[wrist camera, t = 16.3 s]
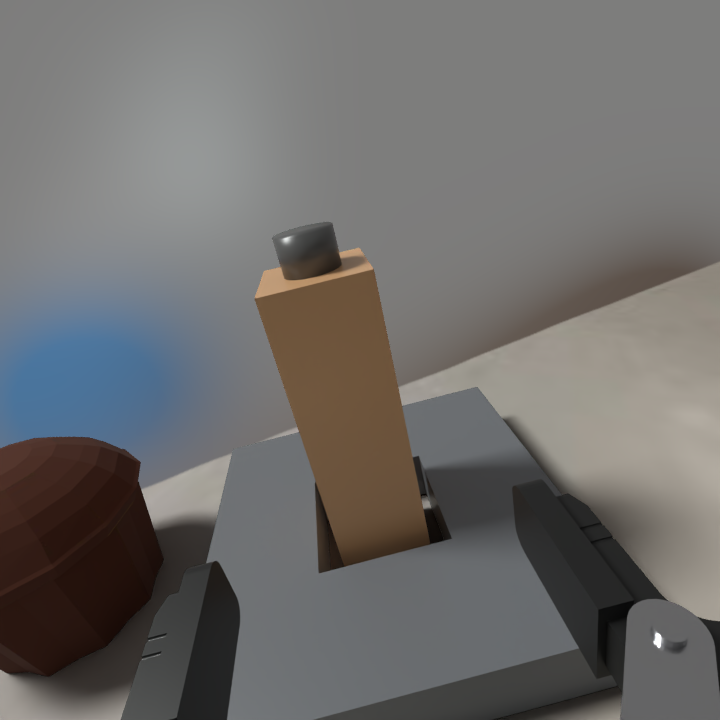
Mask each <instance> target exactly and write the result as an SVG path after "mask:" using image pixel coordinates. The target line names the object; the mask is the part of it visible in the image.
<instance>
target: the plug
mask: <svg viewBox="0 0 720 720" xmlns="http://www.w3.org/2000/svg"><path fill="white" fill-rule="evenodd" d="M272 239H273V243H274V246H275V249H276V252H277V256H278V259H279V263H280V266H281V267H279V268H275V269H271V270H267V271H264V273H263V276H262V279H261V282H260V284H259V288H258V290H257V293H256V296H255V301H256V304H257V307H258V310H259V313H260V316H261V319H262V322H263V325H264V328H265V331H266V334H267V337H268V340H269V343H270V346H271V349H272V352H273V355H274V358H275V361H276V364H277V367H278V370H279V373H280V376H281V379H282V382H283V385H284V388H285V391H286V394H287V397H288V400H289V403H290V406H291V409H292V412H293V415H294V418H295V421H296V424H297V427H298V430H299V433H300V436H301V439H302V442H303V445H304V448H305V451H306V454H307V457H308V460H309V463H310V466H311V469H312V472H313V475H314V478H315V481H316V484H317V487H318V490H319V493H320V496H321V499H322V502H323V505H324V508H325V511H326V514H327V517H328V520H329V522H330V525H331V528H332V531H333V534H334V537H335V540H336V543H337V546H338V549H339V552H340V555H341V558H342V561H343V564H344V567H346V566H350V565H353V564H357V563H361V562H365V561H369V560H372V559H376V558H380V557H384V556H388V555H392V554H395V553H399V552H403V551H407V550H411V549H414V548H418V547H422V546H426V545H430V539H429V535H428V530H427V525H426V520H425V515H424V510H423V505H422V501H421V496H420V491H419V486H418V481H417V476H416V472H415V467H414V462H413V457H412V452H411V447H410V442H409V438H408V433H407V428H406V423H405V418H404V413H403V409H402V404H401V399H400V394H399V389H398V384H397V380H396V375H395V370H394V365H393V360H392V355H391V350H390V346H389V341H388V336H387V331H386V326H385V321H384V317H383V312H382V307H381V302H380V297H379V292H378V287H377V282H376V278H375V273H374V269H373V268H372V266H371V264H370V263H369V262H368V260H367V259H366V257H365V255H364V254H363V252H362V251H361V250H360V248H356V249H352V250H348V251H344V252H340V253H339V250H338V245H337V241H336V237H335V232H334V229H333V224H332V223H331V222H323V223H316V224H311V225H306V226H302V227H298V228H294V229H291V230H288V231H285V232H282V233H280V234H277V235H275V236H274V237H273V238H272Z"/></svg>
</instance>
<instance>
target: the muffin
mask: <svg viewBox="0 0 720 720" xmlns="http://www.w3.org/2000/svg"><path fill="white" fill-rule="evenodd" d="M140 463H141V462H140V461H138V460H137V459H136V458H134V456H132V455H131V454H130V453H129V452H127V451H126V450H125V449H120V448H118V447H115V446H113V445H111V444H108V443H106V442H103V441H99V440H96V439H93V438H88V437H47V438H33V439H30V440H26V441H22V442H18V443H14V444H11V445H8V446H5V447H3V448H0V670H2V671H4V672H6V673H23V672H31V673H35V674H39V675H43V676H47V677H49V676H51V675H53V674H54V673H56V672H58V671H59V670H61V669H63V668H64V667H66V666H68V665H69V664H71V663H73V662H74V661H76V660H77V659H79V658H81V657H84V656H86V655H88V654H90V653H92V652H95V651H97V650H99V649H101V648H103V647H105V646H107V645H108V644H109V643H110V642H111V640H112V639H113V638H114V637H115V636H116V635H117V633H118V632H119V631H120V630H121V629H122V627H123V626H124V625H125V624H126V623H127V621H128V620H129V619H130V618H131V617H132V616H133V615H135V614H136V613H137V612H138V611H139V610H140V609H141V608H142V607H143V606H144V605H145V604H146V603H147V602H148V601H149V600H150V599H151V595H152V590H153V586H154V582H155V578H156V576H157V574H158V571H159V569H160V567H161V564H162V562H163V560H164V559H163V556H162V553H161V550H160V547H159V544H158V540H157V537H156V534H155V531H154V528H153V525H152V522H151V519H150V516H149V513H148V510H147V506H146V503H145V500H144V497H143V494H142V491H141V488H140V485H139V482H138V477H139V469H140Z"/></svg>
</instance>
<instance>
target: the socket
mask: <svg viewBox="0 0 720 720" xmlns="http://www.w3.org/2000/svg"><path fill="white" fill-rule="evenodd" d="M402 409H403V413H404V418H405V423H406V428H407V433H408V438H409V442H410V447H411V452H412V457H413V462H414V467H415V472H416V476H417V481H418V486H419V491H420V495H422V494H427V497H428V499H429V502H430V504H431V507H432V510H433V512H434V515H435V518H436V520H437V523H438V526H439V528H440V531H441V534H442V536H443V539H444V541H441V542H437V543H434V544H430V545H426V546H422V547H418V548H414V549H411V550H407V551H403V552H399V553H395V554H392V555H388V556H384V557H380V558H376V559H372V560H369V561H365V562H361V563H357V564H353V565H350V566H346V567H342V568H338V569H334V570H331V566H330V552H329V539H328V525H327V519H328V517H327V514H326V511H325V508H324V505H323V502H322V499H321V496H320V493H319V490H318V487H317V484H316V481H315V478H314V475H313V472H312V469H311V466H310V463H309V460H308V457H307V454H306V451H305V448H304V445H303V442H302V439H301V436H300V433H299V432H298V433H294V434H290V435H287V436H283V437H279V438H275V439H271V440H267V441H263V442H259V443H255V444H251V445H247V446H243V447H239V448H236V449H233V452H232V456H231V460H230V465H229V469H228V473H227V477H226V481H225V486H224V490H223V494H222V498H221V503H220V507H219V511H218V515H217V519H216V524H215V528H214V532H213V536H212V541H211V545H210V549H209V553H208V558H207V562H206V563H209V562H213V561H218V562H219V563H220V565H221V567H222V569H223V571H224V573H225V575H226V577H227V579H228V581H229V582H230V584H231V586H232V588H233V590H234V592H235V594H236V596H237V599H238V602H239V607H240V628H239V635H238V642H237V650H236V657H235V664H234V672H233V679H232V686H231V694H230V701H229V708H228V716H227V720H494V719H497V718H501V717H505V716H508V715H512V714H516V713H519V712H523V711H527V710H530V709H534V708H538V707H542V706H545V705H549V704H553V703H556V702H560V701H564V700H567V699H571V698H575V697H578V696H582V695H586V694H590V693H593V692H597V691H601V690H604V689H608V688H612V687H615V686H618V685H617V683H616V682H615V680H614V678H613V677H612V675H610V676H606V677H602V678H599V679H596V677H595V675H594V674H593V672H592V670H591V668H590V667H589V665H588V663H587V661H586V660H585V658H584V656H583V654H582V653H581V651H580V649H579V647H578V646H577V644H576V642H575V640H574V639H573V637H572V635H571V633H570V631H569V630H568V628H567V626H566V624H565V623H564V621H563V619H562V617H561V616H560V614H559V612H558V610H557V609H556V607H555V605H554V603H553V602H552V600H551V598H550V596H549V595H548V593H547V591H546V589H545V587H544V586H543V584H542V582H541V580H540V579H539V577H538V575H537V573H536V572H535V570H534V568H533V566H532V565H531V563H530V561H529V559H528V558H527V556H526V554H525V552H524V550H523V548H522V546H521V544H520V541H519V539H518V536H517V532H516V527H515V517H514V505H513V494H512V487H513V486H514V485H518V484H522V483H526V482H530V481H534V480H538V479H542V480H543V481H544V482H545V483H546V484H547V485H548V487H549V488H550V489H551V491H552V492H553V493H554V495H555V496H556V497H557V496H561V495H562V494H561V493H560V492H559V490H558V489H557V488H556V487H555V485H554V484H553V483H552V482H551V480H550V479H549V478H548V476H547V475H546V474H545V473H544V471H543V470H542V469H541V468H540V466H539V465H538V464H537V462H536V461H535V460H534V459H533V457H532V456H531V455H530V453H529V452H528V451H527V450H526V448H525V447H524V446H523V445H522V443H521V442H520V441H519V439H518V438H517V437H516V436H515V434H514V433H513V432H512V431H511V429H510V428H509V427H508V425H507V424H506V423H505V422H504V420H503V419H502V418H501V417H500V415H499V414H498V413H497V411H496V410H495V409H494V408H493V406H492V405H491V404H490V403H489V401H488V400H487V399H486V397H485V396H484V395H483V394H482V392H481V391H480V390H479V388H478V387H475V388H471V389H467V390H463V391H459V392H455V393H451V394H447V395H443V396H439V397H436V398H432V399H428V400H424V401H420V402H416V403H412V404H408V405H404V406H402Z"/></svg>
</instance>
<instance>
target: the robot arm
mask: <svg viewBox="0 0 720 720" xmlns="http://www.w3.org/2000/svg"><path fill="white" fill-rule="evenodd" d="M512 494H513V505H514V517H515V527H516V532H517V536H518V539H519V541H520V544H521V546H522V548H523V550H524V552H525V554H526V556H527V558H528V559H529V561H530V563H531V565H532V566H533V568H534V570H535V572H536V573H537V575H538V577H539V579H540V580H541V582H542V584H543V586H544V587H545V589H546V591H547V593H548V595H549V596H550V598H551V600H552V602H553V603H554V605H555V607H556V609H557V610H558V612H559V614H560V616H561V617H562V619H563V621H564V623H565V624H566V626H567V628H568V630H569V631H570V633H571V635H572V637H573V639H574V640H575V642H576V644H577V646H578V647H579V649H580V651H581V653H582V654H583V656H584V658H585V660H586V661H587V663H588V665H589V667H590V668H591V670H592V672H593V674H594V675H595V677H596V679H599V678H602V677H606V676H610V675H612V677H613V678H614V680H615V682H616V683H617V685H618V687H619V688H620V690H621V692H622V698H621V715H620V720H720V621H711V620H706V619H702V618H699V617H697V616H695V615H694V614H693V613H691V612H690V611H688V610H687V609H685V608H684V607H682V606H680V605H677V604H675V603H672V602H669V601H668V600H667V599H665V598H664V597H663V596H662V595H661V594H660V593H659V592H658V590H657V589H656V588H655V587H654V586H653V584H652V583H651V582H650V581H649V579H648V578H647V577H646V576H645V575H644V573H643V572H642V571H641V570H640V569H639V567H638V566H637V565H636V564H635V563H634V561H633V560H632V559H631V558H630V557H629V555H628V554H627V553H626V552H625V551H624V549H623V548H622V547H621V546H620V545H619V543H618V542H617V541H616V540H614V539H613V537H612V535H611V534H610V532H609V531H608V530H607V529H606V528H605V526H602V524H601V522H600V520H599V519H598V518H597V517H596V516H595V514H594V513H593V512H592V511H591V510H590V508H589V507H588V506H587V505H585V504H584V503H582V502H581V501H579V500H577V499H576V498H574V497H573V496H571V495H569V494H565V495H561V496H557V497H556V496H555V495H554V493H553V492H552V491H551V489H550V488H549V487H548V485H547V484H546V483H545V482H544V481H543V480H542V479H538V480H534V481H530V482H526V483H522V484H518V485H514V486H513V487H512ZM239 628H240V607H239V602H238V599H237V596H236V594H235V592H234V590H233V588H232V586H231V584H230V582H229V581H228V579H227V577H226V575H225V573H224V571H223V569H222V567H221V565H220V563H219V562H218V561H213V562H209V563H205V564H202V565H198V566H194V567H190V568H187V569H186V571H185V573H184V575H183V579H182V582H181V586H180V589H179V592H178V593H175V594H171V595H168V597H167V598H166V600H165V601H164V603H163V604H162V606H161V607H160V609H159V610H158V612H157V613H156V615H155V616H154V620H153V623H152V626H151V629H150V632H149V635H148V642H146V644H145V647H144V650H143V653H142V656H141V657H142V661H140V662H139V665H138V668H137V672H136V675H135V678H134V681H133V684H132V687H131V690H130V693H129V696H128V699H127V702H126V705H125V708H124V711H123V714H122V717H121V720H227V716H228V708H229V701H230V694H231V686H232V679H233V672H234V664H235V657H236V650H237V642H238V635H239Z"/></svg>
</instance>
